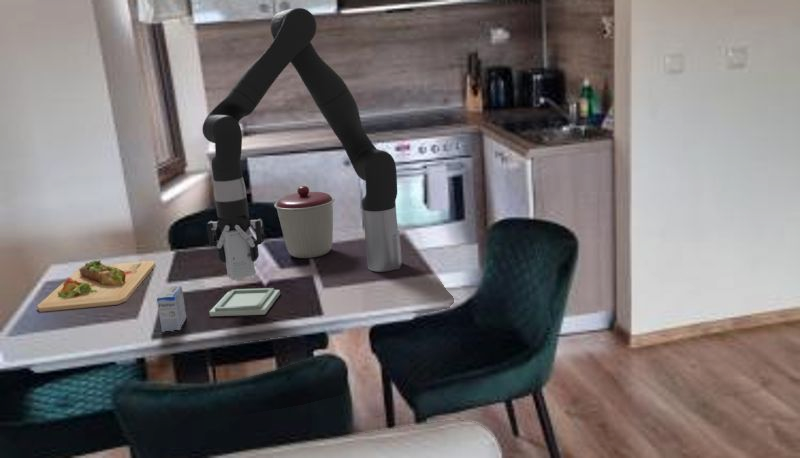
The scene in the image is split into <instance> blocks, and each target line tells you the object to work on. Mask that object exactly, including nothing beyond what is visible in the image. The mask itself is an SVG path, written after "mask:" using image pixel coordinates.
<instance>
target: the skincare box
mask: <svg viewBox="0 0 800 458" xmlns="http://www.w3.org/2000/svg"><path fill="white" fill-rule="evenodd" d="M250 231H251V229H250V228H249V229H248V230H247V232H246V233H247V235H249V234H250ZM224 234H225V241H224V243H223V245H224V253H225V260H226V262H225V266H226V267H225V268H226V273H227V274H226V275H227V277H228V278H230V279H231V280H233V281H234V280H238V279H242V278H243V279H244V278H247V277H248V278H249V277H253V276H255V275H256V268H255V261H252V259H251V251H250V247H251V246H250V245H249V243H248V242H247V241H245V240H244V238H243V237H242V236H241V235H240V233H239V232H238V231H237V230H233V231H228V232H225V233H224Z"/></svg>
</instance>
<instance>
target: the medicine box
mask: <svg viewBox="0 0 800 458" xmlns="http://www.w3.org/2000/svg"><path fill="white" fill-rule="evenodd" d="M183 291H184V290H183V287H182V286H179V285H177V286H176V285H175V286H164V287H163V289H162V290H161V292H160V294H159V295H158V297H157V298H156V303H157V309H158V315H159V321H160V326H161V331H162V333H166V332H165V331H171V332H175V331H174V330H179V331H181V330H182V328H181V327H183V326H184V323H185V321H186V319H187V313H186V305H185V298H184V293H183ZM182 325H183V326H182ZM180 329H181V330H180Z"/></svg>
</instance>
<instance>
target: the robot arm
mask: <svg viewBox="0 0 800 458" xmlns="http://www.w3.org/2000/svg"><path fill="white" fill-rule="evenodd" d="M316 32H317V21H316V18H315V17H314V15H313V13H311V12H310V11H309V10H308V9H305V8H303V7H292V8H288V9H285V10H282V11H279V12H277V13H276V14H275V15H274V16H273V17H272V19H271V22H270V33H271V36H272V38H273V41H272V42H271V43H270V45H269V46H268V47H267V48H266V50H265V51H264V52H263V53H262V54H261V55H260V56H259V58H257V60H255V61H254V62H253V63H252V64H251V65H250V66H249V67H248V68H247V69H246V70H245V72H244V73H243V74H241V76H240V77H239V79H238V80H237V82H236V83H235V84H234V86H233V87H232V89H231V90H230V91H229V92H228V93H227V96H226V97H225V98H223V99H222V100H221V101H220V102H219V103H218V104H217V106H215V107H214V108H213V109H212V110H211V112H209V114H208V115H207V116H206V118H205V119H204V121H203V124H202V135H203V137H204V138H205V139H206V141H208V142H210V143H212V144H214V145H215V147H214V148H215V152H214V153H215V154H214V156H213V157H212V158H211V171H212V172H211V173H212V179H213V192H214V195H213V196H214V200H215V205H216V206H215V207H216V208H215V209H216V215H217V221H214V220H210V221H208V222H207V223H206V225H205V226H206V233H207V238H208V243H209V246H210V247H214V248H217V251H218V257H219V258H218V259H219V260H220V261H221V262H222V264H223V263H225V264H226V260H225V253H224V245H223V243H224V241H225V234H224V233H225V232H228V231H233V230H237V231H238V232H239V233H240V235H241V236H242V237H243V238H244V240H245V241H247V242H248V243H249V245H250V246H251V247H250V251H251V259H252V261H254V262H256V261H257V260H258V259H259V256H260V254H259V253H260V252H259V247H258V245H262V244H263V243H264V242H265V231H264V221H263V219H262V218H258V219H252V218H251V217H250V215H249V214H250V211H249V205H248V197H247V190H246V189H247V188H246V184H245V180H244V175H243V167H242V162H241V161H242V159H241V157H242V146H243V132H242V128H241V125H240V121H241V120H242V119H243V118H244V117H248V116H249V115H251V114H252V113H253V112H254V111H255V110H256V108H257V106H259V103H260V102H261V100H262V99H263V98H264V97H265V95H266V93H267V92H268V91H269V89H270V88H271V87H272V85H273V84H274V83H275V82H276V80H277V79H278V78H279V76H280V75H281V73H282V72H283V71H284V70H285V69H286V67H287V66H288V65H289V64H290V63H291V65H292V66H293V67H294V69H295V70H296V72H297V73H298V75H299V77H300V80H301V81H302V83H303V84H304V86H305V88H306V89H307V91H308V92H309V94H310V96H311V97H312V99H313V101H314V102H315V105H316V106H317V107H318V109H319V111H320V112H321V115H322V116H323V117H324V119H325V120H326V122H327V124H328V125H329V127H330V128H331V129H332V131H333V133H334V135H335V136H336V138H337V139H338V140H339V141H340V144H341V145H342V146H343V149H344V150H345V153H346V156H347V157H348V159H349V161H350V164H351V166H352V168H353V169H354V172H355V173H356V175H357V176H358V177H359V178H360V179H361V180H362V181H365V196H363V197H362V200H361V208H362V219H363V229H364V237H365V248H366V249H365V250H366V262H367V268H368V270H369V271H373V272H380V273H381V272H390V271H394V270H400V269H401V266H402V264H403V262H402V250H401V247H402V246H401V238H400V237H401V236H400V230H399V228H398V218H397V217H398V216H397V205H396V200H397V197H398V175H397V172H398V171H397V166H396V162H395V159H394V157H393V156H392V154H390V153H389V152H388V151H385V150H381V149H377V147H376V146H375V145H374V143H373V142H372V140H370V138H369V136H368V135H367V134H366V131H365V130H364V128H363V125H362V121H361V117H360V116H361V114H360V111H359V107H358V105H357V102H356V100H355V98H354V97H353V94H352V92H351V91H350V89H349V87H348V85H347V84H346V82H345V81H344V80H343V78H342V77H340V75H339V74H338V73H337V72H336V71H335V70H334V69H332V67H331V66H329V64H327V63H326V62H325V61H324V60H323V58H321V57H320V55H319V53H318V52H317V51H316V49H315V48H314V45H313V44H312V42H311V41H313V40H314V37H315V35H316ZM251 226H252V227H253V229H255V235H256V236H254V233H253V231H252V230H250V234H249V235H247V233H246V232H247V230H248V229H250V227H251ZM217 229H220V231H221V234H220V237H219V240H218V237H217V236H218V235H217Z"/></svg>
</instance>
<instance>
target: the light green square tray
mask: <svg viewBox="0 0 800 458" xmlns="http://www.w3.org/2000/svg"><path fill="white" fill-rule="evenodd" d="M280 295H281V291H280V289H275V288H274V287H262V288H261V287H260V288H236V289H231V290H230V291H227V293H225V294H224V295H223V296H222V298H221V299H220V300H219V301H217V303H216V304H215V305H214V306H213V307H212V309H210V310H209V311H208V313H209V317H225V316H227V317H229V316H231V317H232V316H233V317H234V316H258V315H266V314H267V313H268V311H269V310H270V308H272V306H273V305H274V303H275V302H276V301H277V299H278V298H279V296H280Z"/></svg>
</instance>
